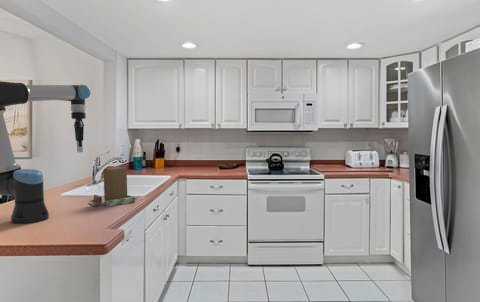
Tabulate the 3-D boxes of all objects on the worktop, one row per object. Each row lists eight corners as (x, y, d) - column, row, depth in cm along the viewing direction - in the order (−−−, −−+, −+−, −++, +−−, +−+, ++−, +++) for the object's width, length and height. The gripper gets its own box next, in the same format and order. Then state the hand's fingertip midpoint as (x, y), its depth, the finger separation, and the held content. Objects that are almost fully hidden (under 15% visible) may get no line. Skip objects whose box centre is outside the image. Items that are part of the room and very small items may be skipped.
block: (119, 199, 208) (118, 166, 207) (128, 201, 201) (127, 167, 200) (103, 202, 200) (102, 168, 199) (112, 204, 193) (110, 169, 192)
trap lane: (95, 207, 184) (95, 202, 184) (83, 201, 204) (82, 196, 204) (143, 201, 201) (143, 196, 201) (127, 195, 221) (127, 190, 220)
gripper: (88, 111, 197) (89, 152, 198) (82, 112, 207) (83, 151, 208) (74, 111, 192) (75, 152, 193) (68, 112, 202) (70, 152, 204)
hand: (79, 152), depth 201 cm, fingers closed
